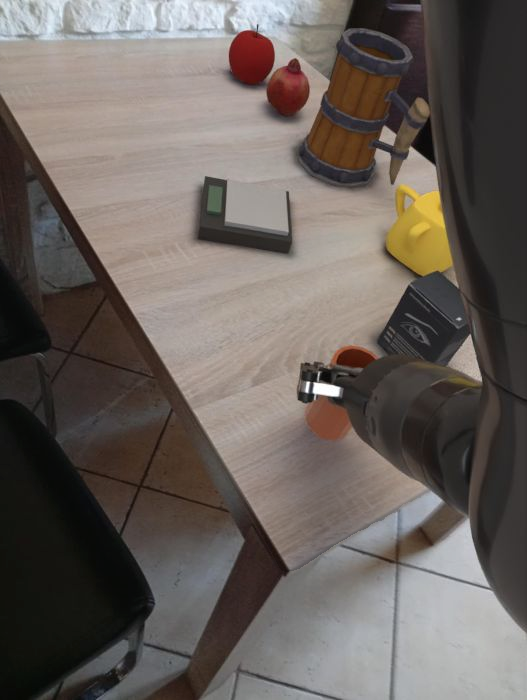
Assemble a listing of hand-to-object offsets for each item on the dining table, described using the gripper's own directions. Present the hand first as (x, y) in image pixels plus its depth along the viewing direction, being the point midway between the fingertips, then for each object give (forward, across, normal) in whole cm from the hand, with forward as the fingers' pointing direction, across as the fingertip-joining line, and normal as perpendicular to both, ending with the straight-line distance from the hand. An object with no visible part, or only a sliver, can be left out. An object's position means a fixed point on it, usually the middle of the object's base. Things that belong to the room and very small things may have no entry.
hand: (343, 375), depth 52 cm
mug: (+43, -9, -31) cm, 54 cm away
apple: (+62, +9, -50) cm, 80 cm away
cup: (+2, 0, +5) cm, 6 cm away
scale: (+29, +9, -18) cm, 35 cm away
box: (+14, -13, -2) cm, 19 cm away
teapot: (+29, -19, -17) cm, 38 cm away
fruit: (+54, +2, -42) cm, 69 cm away
